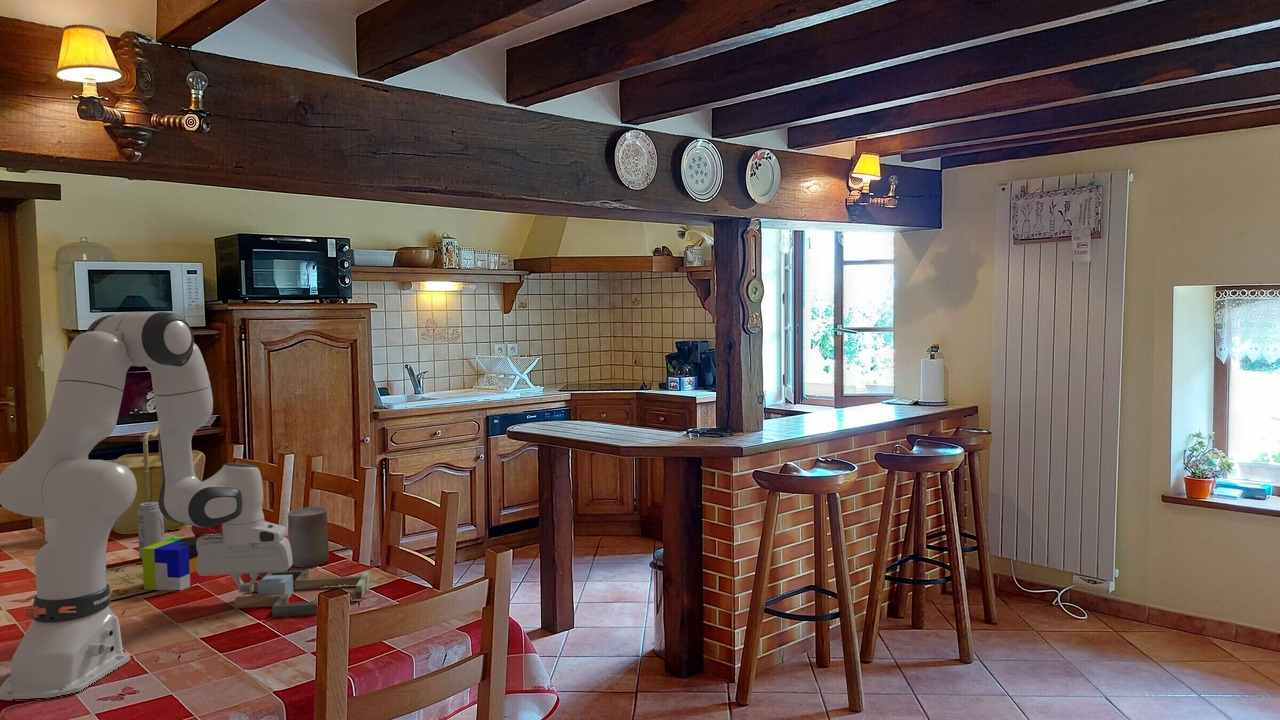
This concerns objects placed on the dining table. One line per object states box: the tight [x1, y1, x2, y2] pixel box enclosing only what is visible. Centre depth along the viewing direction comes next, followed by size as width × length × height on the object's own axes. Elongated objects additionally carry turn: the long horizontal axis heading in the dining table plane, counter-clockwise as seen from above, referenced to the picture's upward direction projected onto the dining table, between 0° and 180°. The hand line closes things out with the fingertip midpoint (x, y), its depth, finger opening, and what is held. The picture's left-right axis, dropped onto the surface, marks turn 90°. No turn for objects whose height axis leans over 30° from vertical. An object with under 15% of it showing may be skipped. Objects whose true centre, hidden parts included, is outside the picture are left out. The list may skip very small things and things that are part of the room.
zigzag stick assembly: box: [234, 569, 372, 618], centre depth 202 cm, size 27×27×4 cm
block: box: [257, 575, 294, 599], centre depth 201 cm, size 6×6×4 cm
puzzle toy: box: [142, 536, 210, 591], centre depth 212 cm, size 10×10×10 cm
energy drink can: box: [137, 502, 165, 562], centre depth 234 cm, size 6×6×15 cm
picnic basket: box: [111, 424, 206, 535], centre depth 273 cm, size 29×26×30 cm
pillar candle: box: [287, 505, 330, 568], centre depth 229 cm, size 10×10×15 cm
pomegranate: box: [190, 524, 223, 539], centre depth 256 cm, size 10×10×9 cm
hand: (246, 591), depth 201 cm, fingers closed
